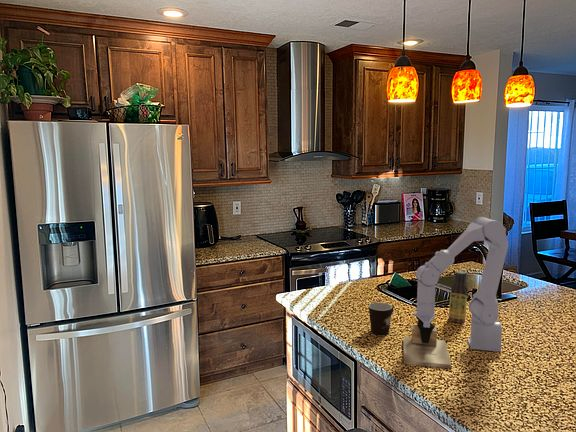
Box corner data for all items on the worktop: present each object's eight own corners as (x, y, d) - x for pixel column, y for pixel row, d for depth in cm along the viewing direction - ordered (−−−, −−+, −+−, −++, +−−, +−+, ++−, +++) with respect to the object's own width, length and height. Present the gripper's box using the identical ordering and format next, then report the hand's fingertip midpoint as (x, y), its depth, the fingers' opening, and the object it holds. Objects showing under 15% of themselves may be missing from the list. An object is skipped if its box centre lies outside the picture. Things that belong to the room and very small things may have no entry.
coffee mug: (374, 338, 154) (375, 311, 153) (364, 329, 162) (364, 303, 161) (403, 334, 157) (404, 308, 156) (391, 325, 165) (392, 300, 164)
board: (444, 343, 149) (444, 340, 149) (451, 368, 132) (451, 364, 131) (403, 339, 152) (403, 336, 152) (404, 363, 135) (404, 360, 135)
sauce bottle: (447, 321, 168) (449, 272, 165) (449, 316, 173) (451, 268, 171) (465, 324, 165) (467, 274, 162) (466, 319, 170) (469, 270, 168)
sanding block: (435, 341, 148) (435, 326, 147) (436, 346, 144) (436, 331, 143) (411, 339, 150) (411, 324, 149) (411, 344, 146) (412, 329, 145)
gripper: (412, 293, 152) (411, 330, 154) (414, 307, 138) (413, 347, 140) (433, 295, 151) (432, 331, 152) (437, 309, 137) (435, 349, 139)
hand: (424, 339), depth 146 cm, fingers open, 4 cm apart
